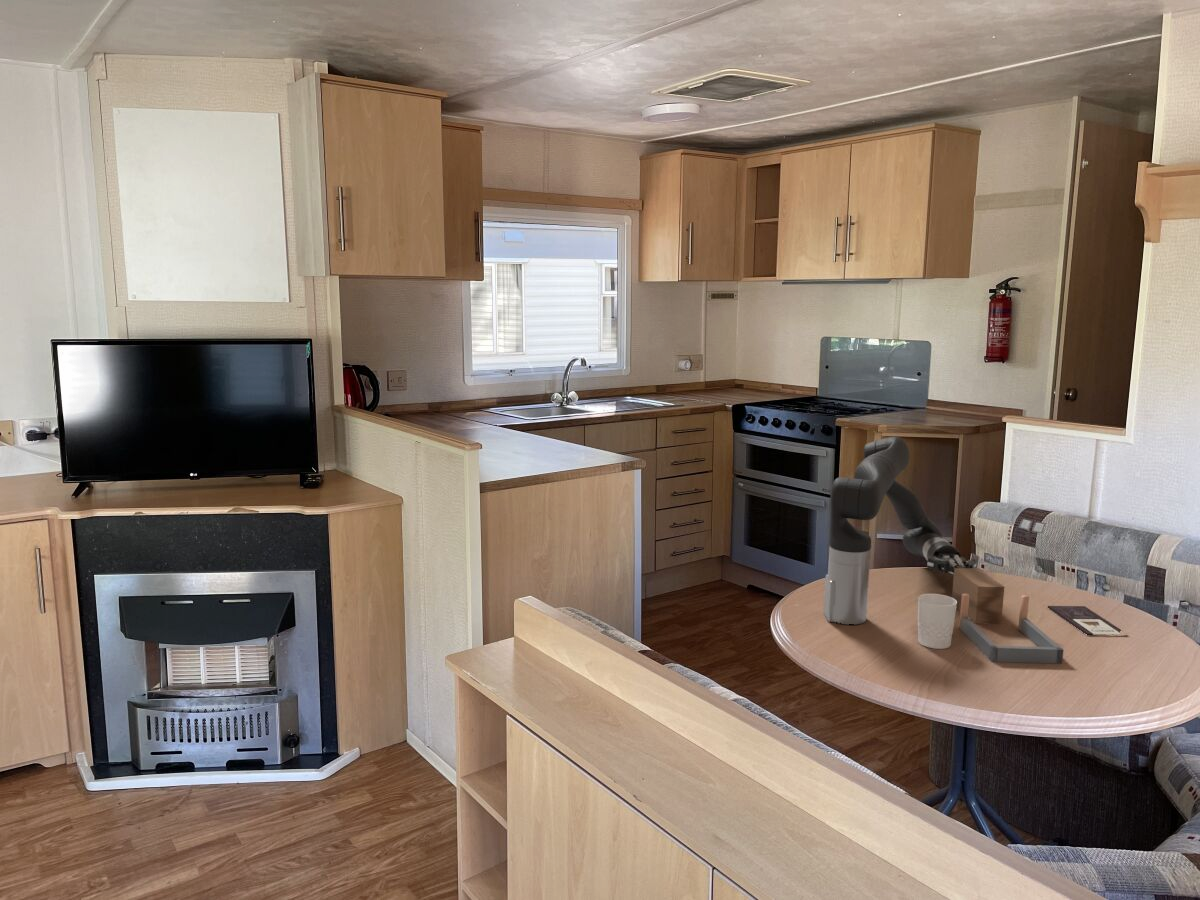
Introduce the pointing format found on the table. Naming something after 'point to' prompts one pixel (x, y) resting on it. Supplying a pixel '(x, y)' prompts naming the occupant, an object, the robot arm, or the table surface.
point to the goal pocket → (1040, 654)
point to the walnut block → (979, 595)
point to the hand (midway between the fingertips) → (963, 574)
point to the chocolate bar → (1085, 620)
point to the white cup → (936, 620)
